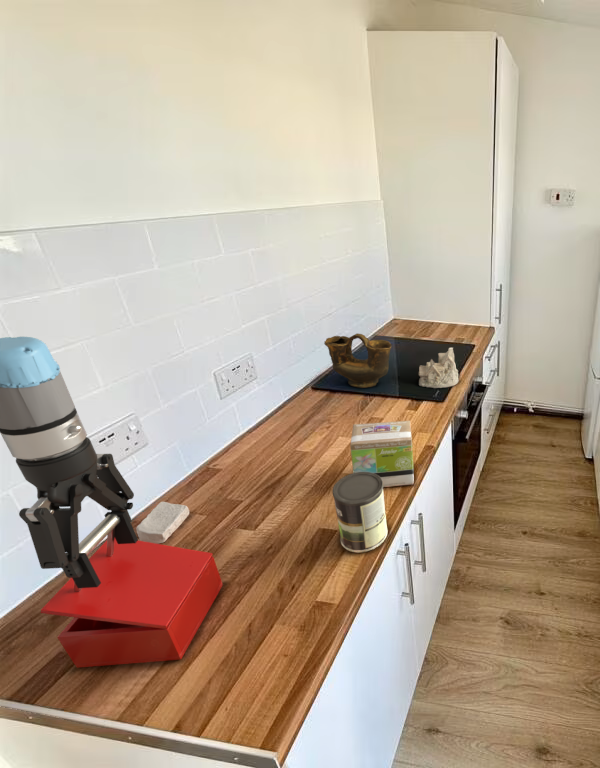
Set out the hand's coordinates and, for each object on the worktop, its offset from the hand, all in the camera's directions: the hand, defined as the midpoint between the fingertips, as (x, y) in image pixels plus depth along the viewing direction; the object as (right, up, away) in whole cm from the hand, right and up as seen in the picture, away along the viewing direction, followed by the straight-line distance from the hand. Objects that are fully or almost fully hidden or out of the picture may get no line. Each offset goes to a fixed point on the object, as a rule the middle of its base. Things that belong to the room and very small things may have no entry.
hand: (109, 562), depth 70 cm
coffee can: (+32, -6, +28) cm, 43 cm away
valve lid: (+2, -4, +2) cm, 5 cm away
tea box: (+31, +4, +47) cm, 57 cm away
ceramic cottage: (+37, +31, +103) cm, 114 cm away
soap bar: (-12, -4, +26) cm, 29 cm away
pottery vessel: (+8, +30, +97) cm, 102 cm away
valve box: (+2, -14, +7) cm, 16 cm away
